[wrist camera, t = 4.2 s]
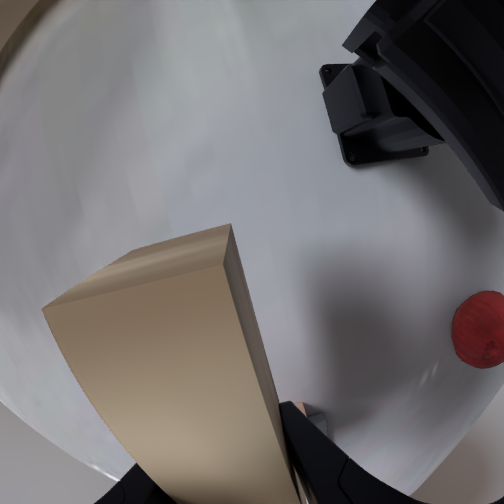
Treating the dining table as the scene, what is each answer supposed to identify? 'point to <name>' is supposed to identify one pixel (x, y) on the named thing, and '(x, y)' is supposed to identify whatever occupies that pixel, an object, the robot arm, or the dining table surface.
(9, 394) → the dining table surface
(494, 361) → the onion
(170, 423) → the curved wooden plank
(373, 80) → the robot arm
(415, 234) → the dining table surface
